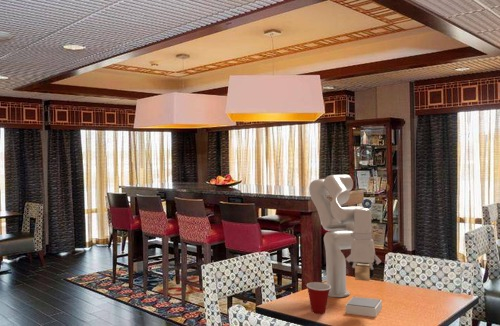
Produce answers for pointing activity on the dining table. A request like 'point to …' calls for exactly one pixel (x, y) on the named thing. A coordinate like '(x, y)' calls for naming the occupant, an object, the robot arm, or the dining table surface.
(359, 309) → the plinth
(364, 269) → the oak cube
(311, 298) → the plastic cup
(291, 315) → the dining table surface
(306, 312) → the dining table surface
